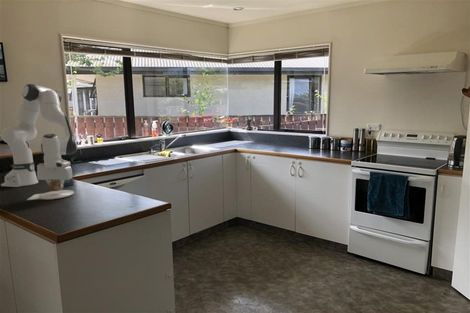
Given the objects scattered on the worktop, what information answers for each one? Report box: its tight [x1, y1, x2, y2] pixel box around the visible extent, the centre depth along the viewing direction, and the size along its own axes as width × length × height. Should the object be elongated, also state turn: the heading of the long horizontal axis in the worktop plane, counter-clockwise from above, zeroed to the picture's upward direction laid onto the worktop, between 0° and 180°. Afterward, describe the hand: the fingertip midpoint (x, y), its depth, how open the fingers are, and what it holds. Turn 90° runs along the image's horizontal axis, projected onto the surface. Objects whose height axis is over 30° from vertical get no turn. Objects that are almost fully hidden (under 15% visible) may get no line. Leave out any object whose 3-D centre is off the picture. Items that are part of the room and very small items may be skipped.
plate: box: [39, 189, 75, 200], centre depth 205 cm, size 18×18×1 cm
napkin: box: [26, 193, 42, 201], centre depth 205 cm, size 8×12×1 cm, turn 10°
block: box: [48, 180, 64, 192], centre depth 204 cm, size 5×5×5 cm
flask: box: [57, 177, 74, 188], centre depth 228 cm, size 9×3×11 cm, turn 144°
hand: (56, 187), depth 204 cm, fingers closed on block, 5 cm apart
